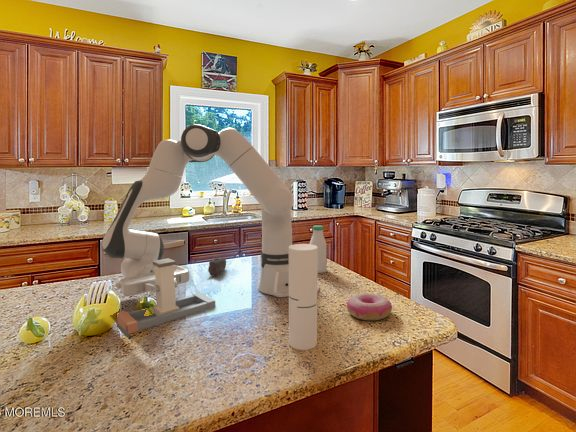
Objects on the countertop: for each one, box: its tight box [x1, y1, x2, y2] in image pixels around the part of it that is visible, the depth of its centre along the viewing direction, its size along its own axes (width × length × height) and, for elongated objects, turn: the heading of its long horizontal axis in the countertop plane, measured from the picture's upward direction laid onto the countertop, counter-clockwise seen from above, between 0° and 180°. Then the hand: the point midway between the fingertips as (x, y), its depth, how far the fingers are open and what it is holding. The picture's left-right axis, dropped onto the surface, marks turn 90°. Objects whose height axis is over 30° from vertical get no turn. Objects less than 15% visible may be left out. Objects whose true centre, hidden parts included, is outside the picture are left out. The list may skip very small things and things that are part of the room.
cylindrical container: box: [288, 243, 318, 351], centre depth 85 cm, size 7×7×25 cm
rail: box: [115, 292, 216, 340], centre depth 101 cm, size 26×10×4 cm, turn 133°
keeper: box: [152, 257, 179, 316], centre depth 99 cm, size 6×6×16 cm
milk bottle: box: [309, 224, 328, 274], centre depth 148 cm, size 8×8×20 cm
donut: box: [346, 292, 393, 321], centre depth 104 cm, size 14×13×5 cm
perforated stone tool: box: [207, 256, 227, 277], centre depth 146 cm, size 15×5×7 cm, turn 168°
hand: (166, 287), depth 99 cm, fingers closed on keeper, 4 cm apart
